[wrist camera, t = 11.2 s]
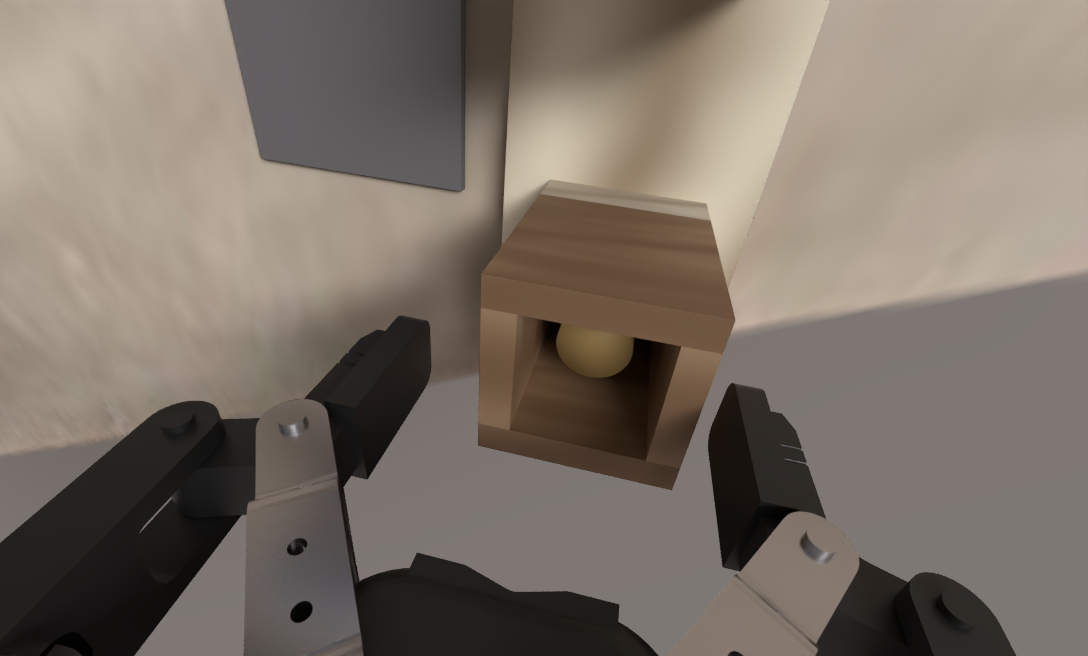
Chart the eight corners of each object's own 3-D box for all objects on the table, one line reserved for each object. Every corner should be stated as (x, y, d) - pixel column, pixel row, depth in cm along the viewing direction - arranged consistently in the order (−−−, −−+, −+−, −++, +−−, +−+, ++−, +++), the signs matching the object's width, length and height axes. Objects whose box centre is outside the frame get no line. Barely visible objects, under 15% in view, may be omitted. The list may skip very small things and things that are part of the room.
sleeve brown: (550, 179, 17) (481, 273, 11) (706, 203, 17) (735, 320, 10) (537, 309, 20) (478, 445, 14) (668, 334, 20) (671, 490, 13)
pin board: (505, 311, 22) (447, 415, 16) (546, -407, 11) (412, -901, 5) (699, 349, 21) (713, 475, 15) (958, -407, 10) (1384, -1032, 4)
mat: (267, 156, 21) (261, 158, 20) (204, -126, 16) (194, -129, 15) (464, 188, 19) (461, 191, 19) (465, -104, 14) (460, -107, 14)
